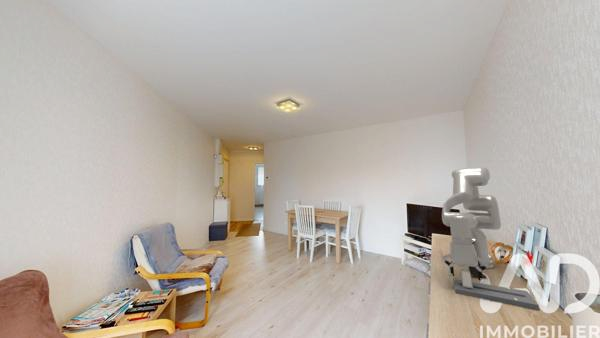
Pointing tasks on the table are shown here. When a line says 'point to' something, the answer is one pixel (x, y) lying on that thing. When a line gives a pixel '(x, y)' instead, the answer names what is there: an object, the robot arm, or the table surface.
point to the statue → (475, 270)
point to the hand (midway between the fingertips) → (466, 277)
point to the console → (497, 294)
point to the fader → (466, 278)
